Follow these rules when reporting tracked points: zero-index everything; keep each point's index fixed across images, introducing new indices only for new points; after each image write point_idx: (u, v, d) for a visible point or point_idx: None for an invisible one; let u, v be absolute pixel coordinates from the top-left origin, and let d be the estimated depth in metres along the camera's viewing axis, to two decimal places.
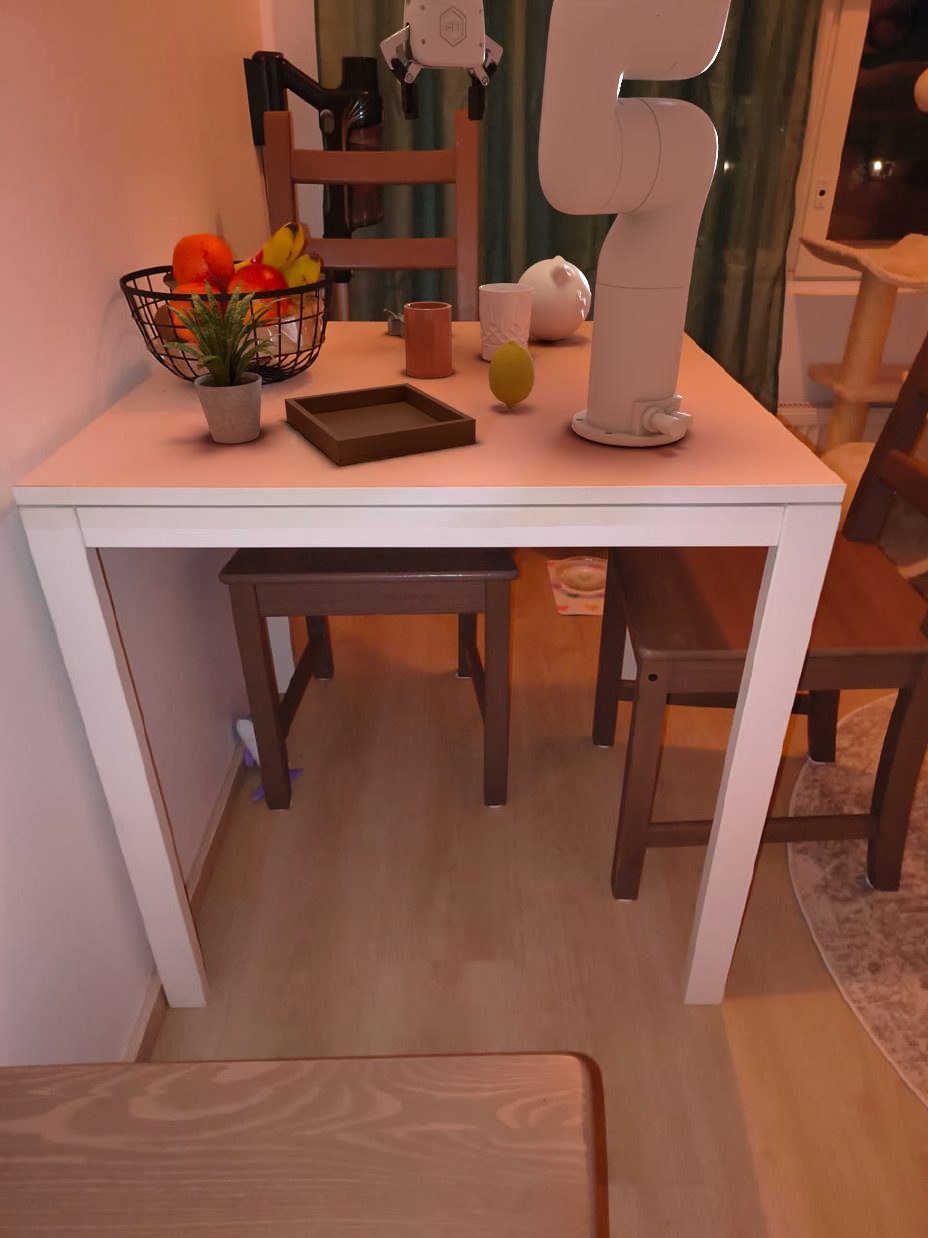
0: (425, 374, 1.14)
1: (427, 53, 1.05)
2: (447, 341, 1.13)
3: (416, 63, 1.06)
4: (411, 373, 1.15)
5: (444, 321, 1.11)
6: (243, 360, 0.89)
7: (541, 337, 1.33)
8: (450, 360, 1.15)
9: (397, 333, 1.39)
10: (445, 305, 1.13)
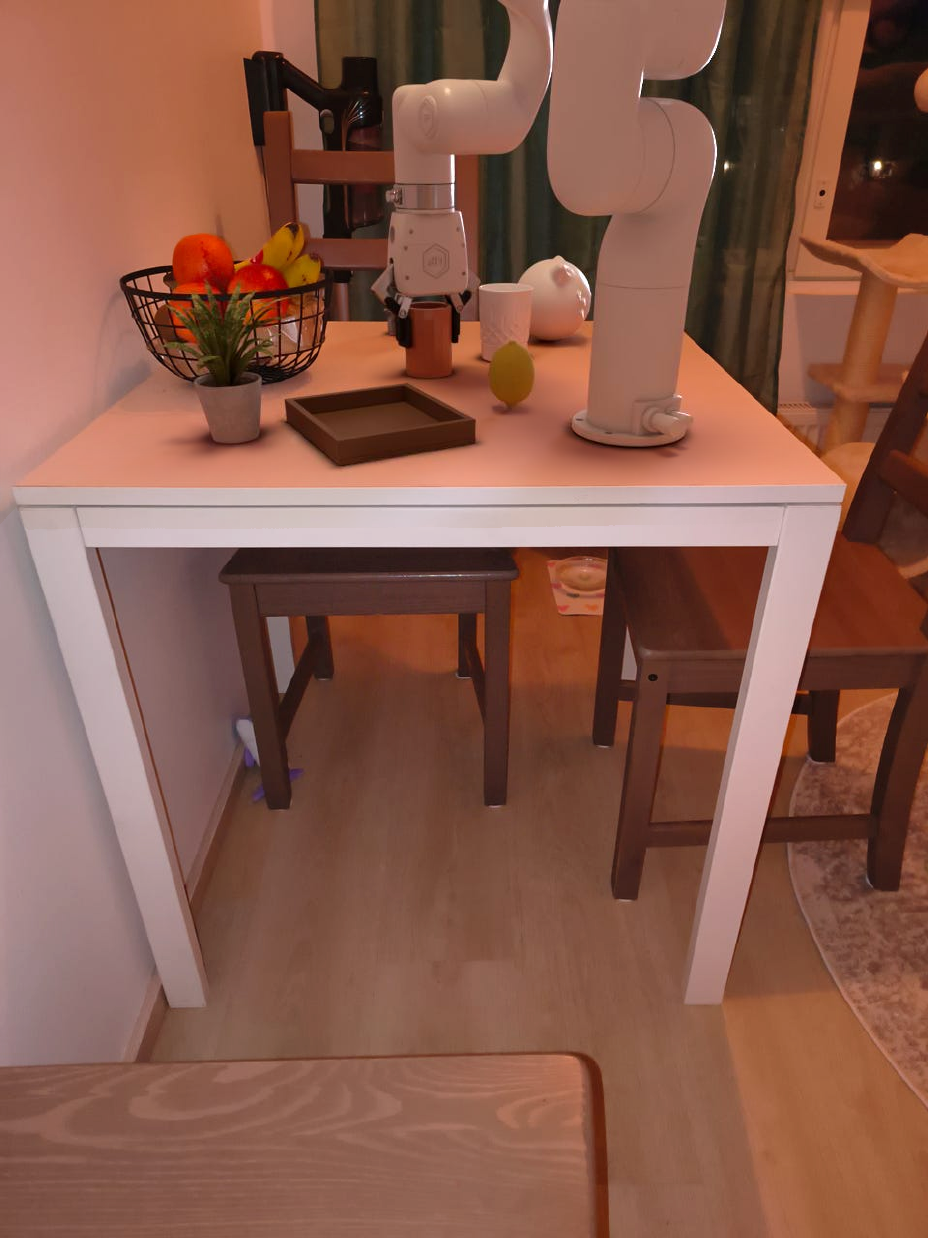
0: (425, 374, 1.14)
1: (411, 287, 1.07)
2: (447, 341, 1.13)
3: (406, 299, 1.09)
4: (411, 373, 1.15)
5: (444, 321, 1.11)
6: (243, 360, 0.89)
7: (541, 337, 1.33)
8: (450, 360, 1.15)
9: None
10: (445, 305, 1.13)
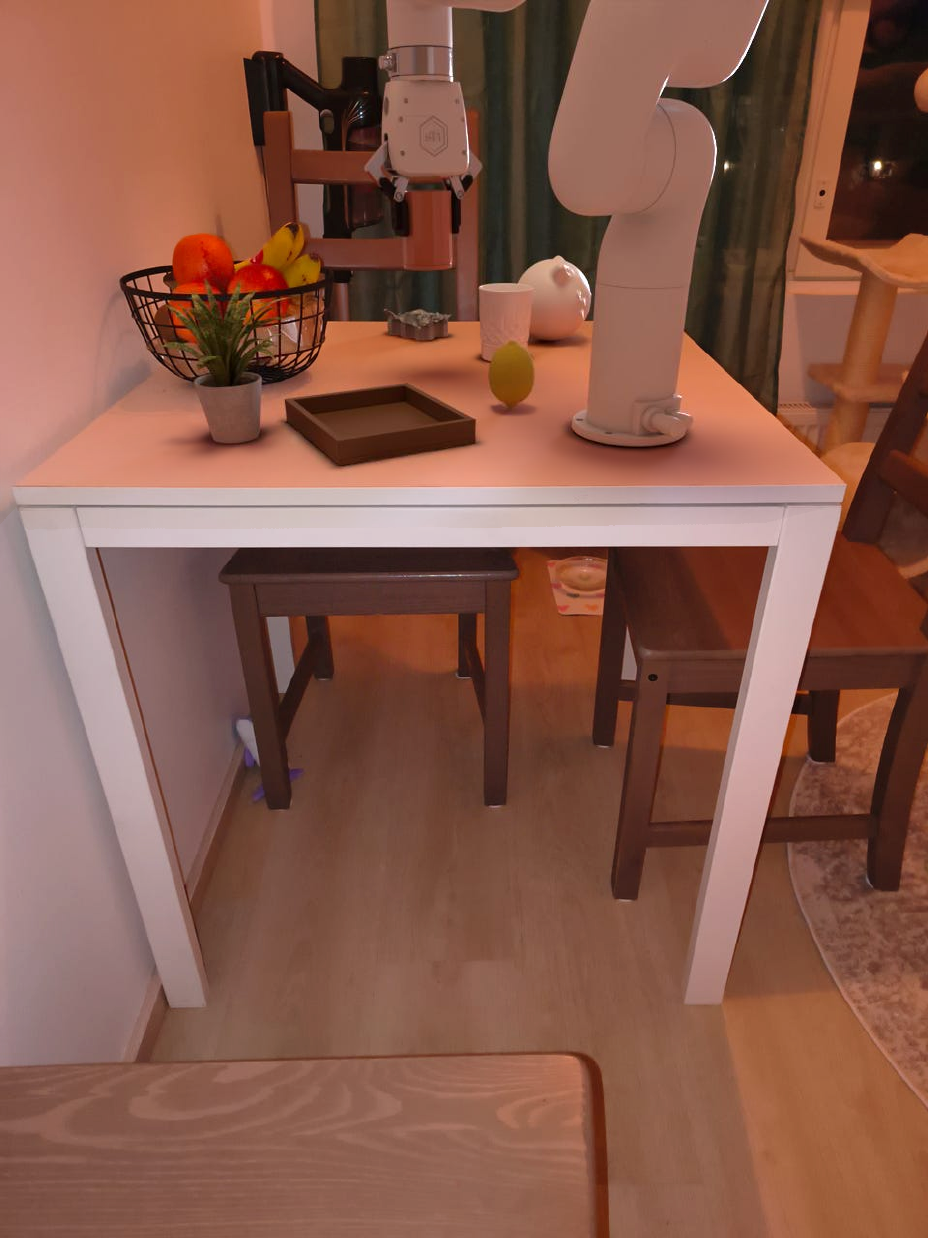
0: (423, 265, 1.06)
1: (407, 164, 0.99)
2: (447, 229, 1.05)
3: (402, 179, 1.01)
4: (409, 266, 1.07)
5: (443, 206, 1.03)
6: (243, 360, 0.89)
7: (541, 337, 1.33)
8: (450, 252, 1.07)
9: (397, 333, 1.39)
10: None
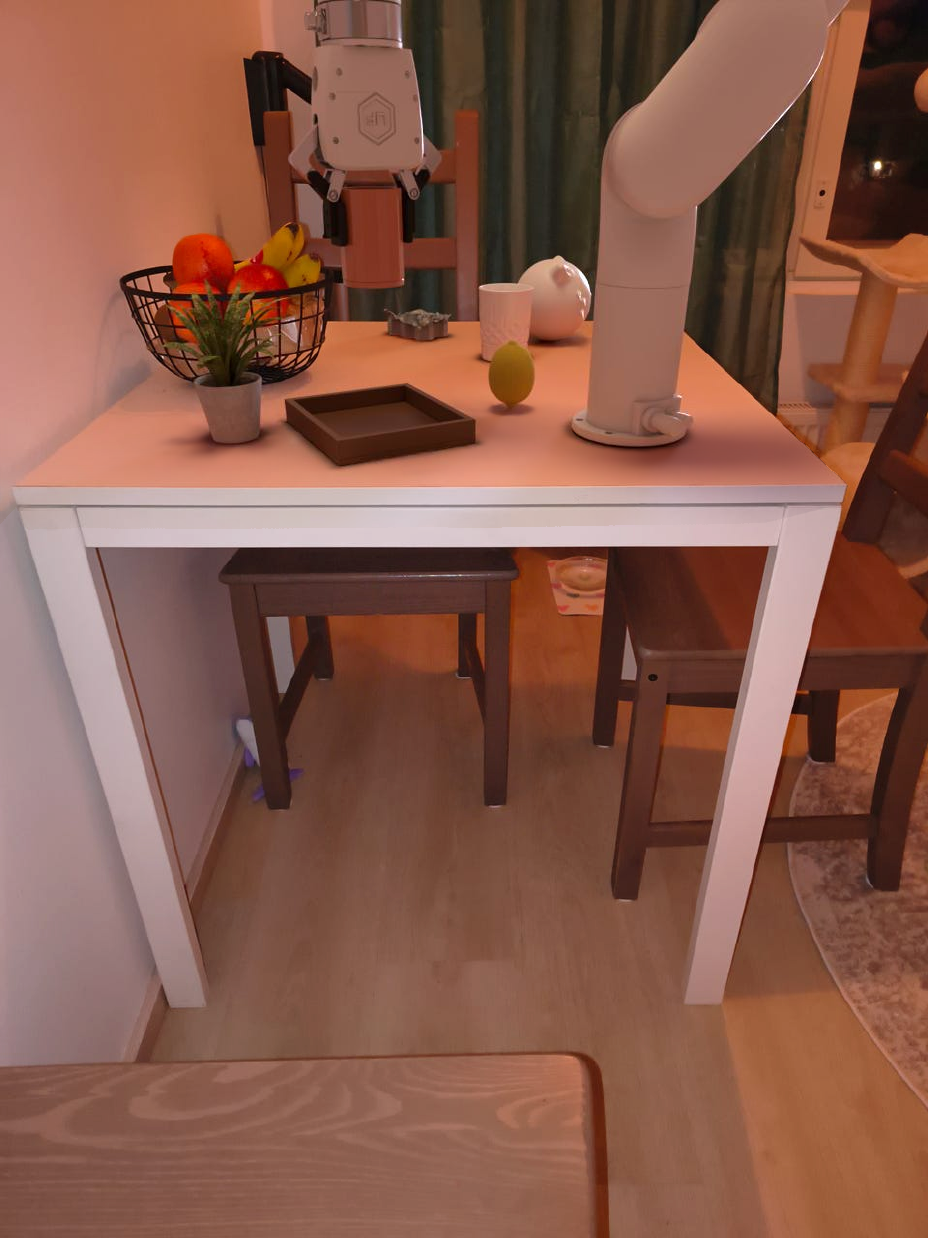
0: (366, 283, 0.84)
1: (342, 155, 0.77)
2: (396, 237, 0.83)
3: (337, 174, 0.79)
4: (348, 282, 0.85)
5: (390, 208, 0.81)
6: (243, 360, 0.89)
7: (541, 337, 1.33)
8: (401, 265, 0.85)
9: (397, 333, 1.39)
10: None
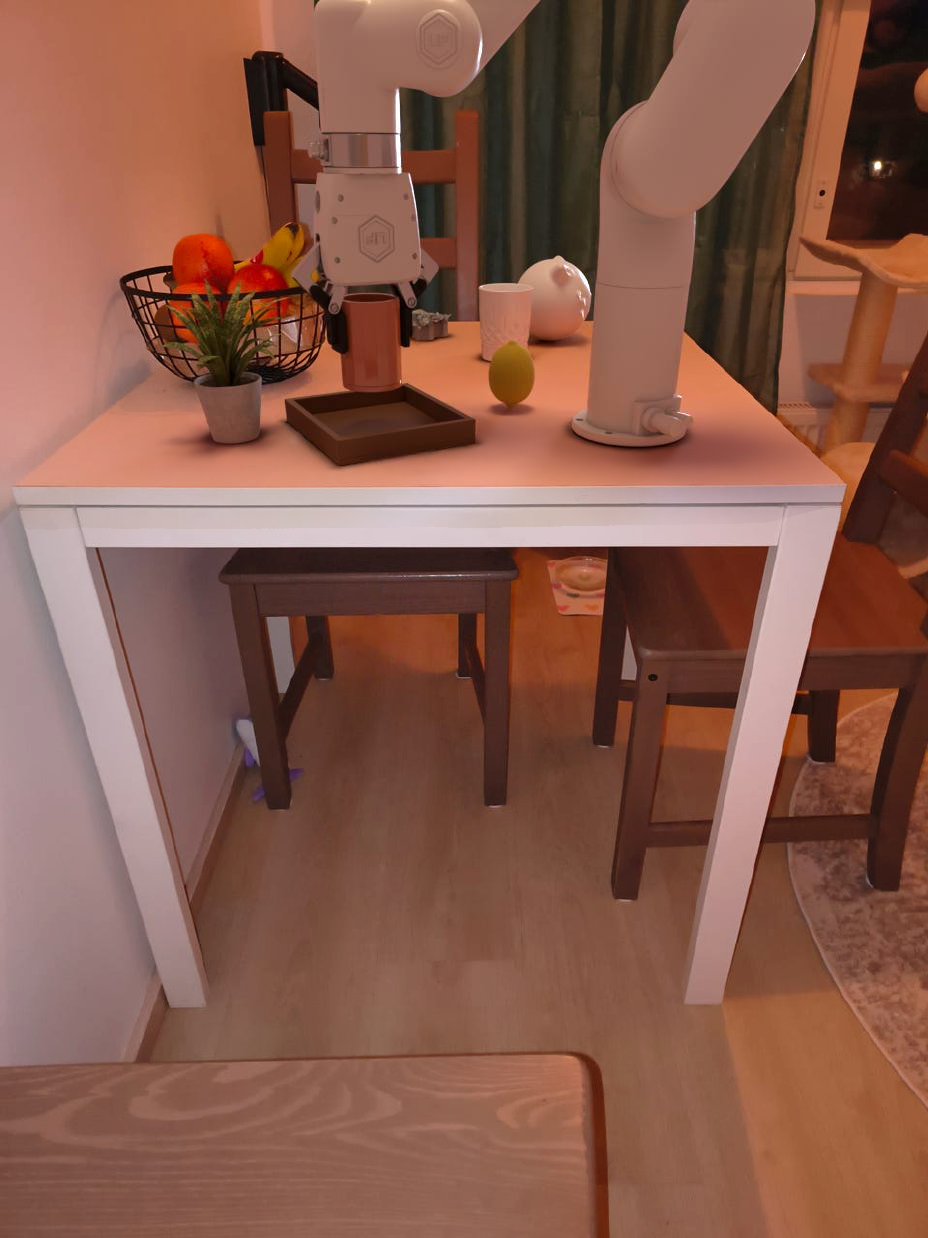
0: (365, 387, 0.87)
1: (343, 273, 0.81)
2: (394, 344, 0.86)
3: (338, 288, 0.83)
4: (348, 385, 0.88)
5: (389, 318, 0.85)
6: (243, 360, 0.89)
7: (541, 337, 1.33)
8: (399, 369, 0.88)
9: None
10: (392, 297, 0.87)
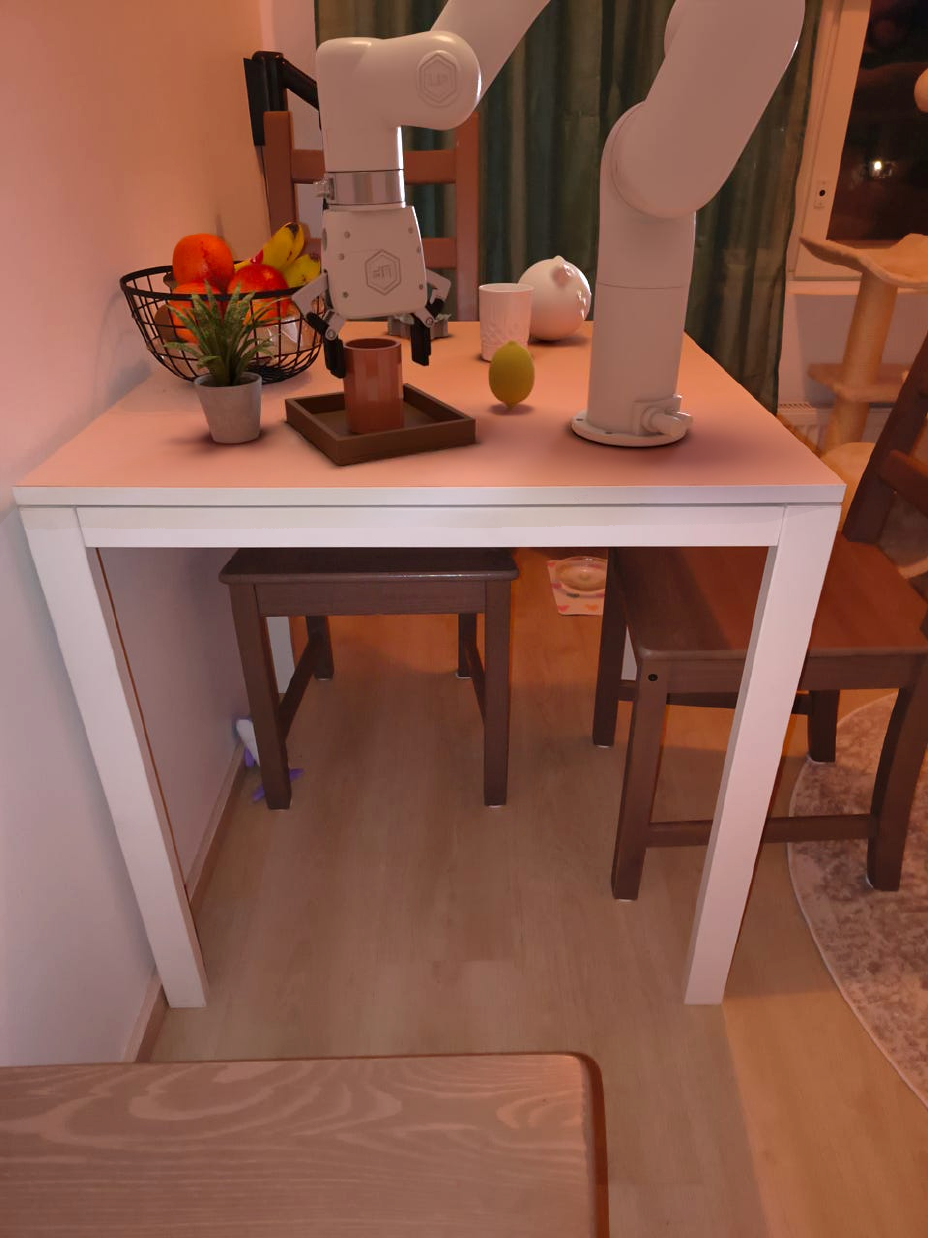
0: (369, 430, 0.90)
1: (351, 307, 0.82)
2: (396, 388, 0.89)
3: (339, 316, 0.84)
4: (352, 428, 0.91)
5: (391, 364, 0.87)
6: (243, 360, 0.89)
7: (541, 337, 1.33)
8: (401, 411, 0.91)
9: (397, 333, 1.39)
10: (394, 342, 0.89)
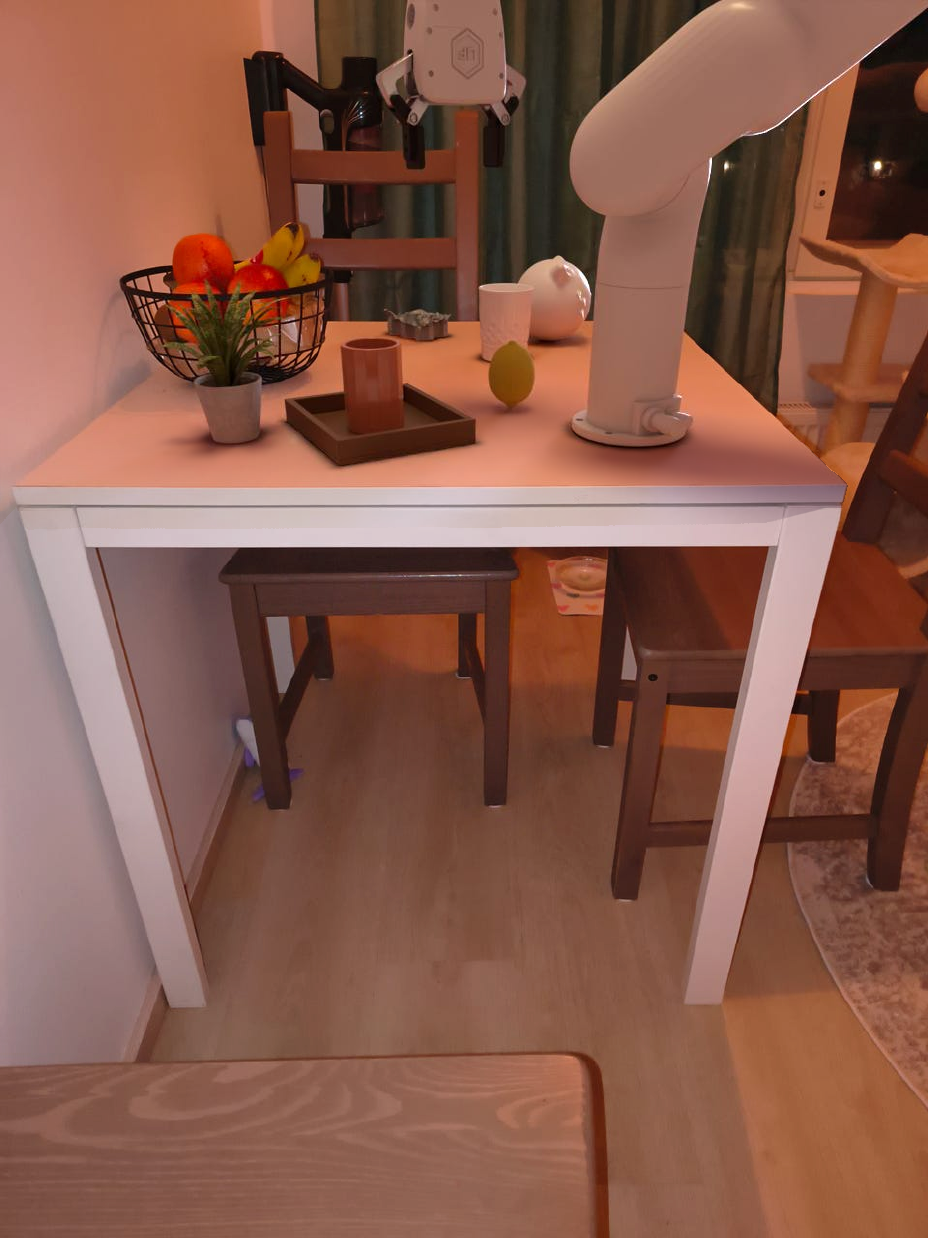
0: (369, 430, 0.90)
1: (436, 88, 0.83)
2: (396, 388, 0.89)
3: (422, 100, 0.84)
4: (352, 428, 0.91)
5: (391, 364, 0.87)
6: (243, 360, 0.89)
7: (541, 337, 1.33)
8: (401, 411, 0.91)
9: (397, 333, 1.39)
10: (394, 342, 0.89)
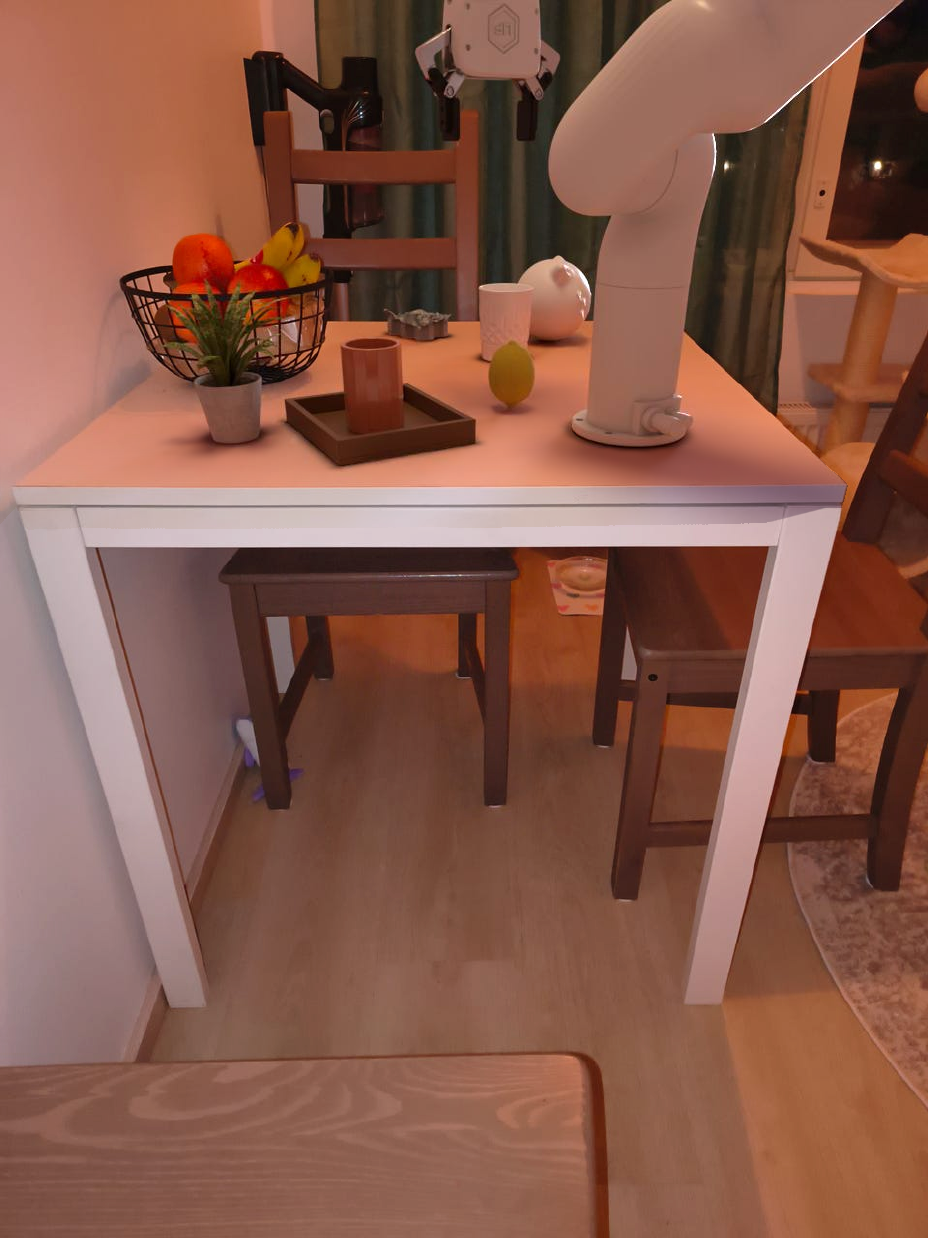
0: (369, 430, 0.90)
1: (472, 61, 0.86)
2: (396, 388, 0.89)
3: (458, 73, 0.87)
4: (352, 428, 0.91)
5: (391, 364, 0.87)
6: (243, 360, 0.89)
7: (541, 337, 1.33)
8: (401, 411, 0.91)
9: (397, 333, 1.39)
10: (394, 342, 0.89)
